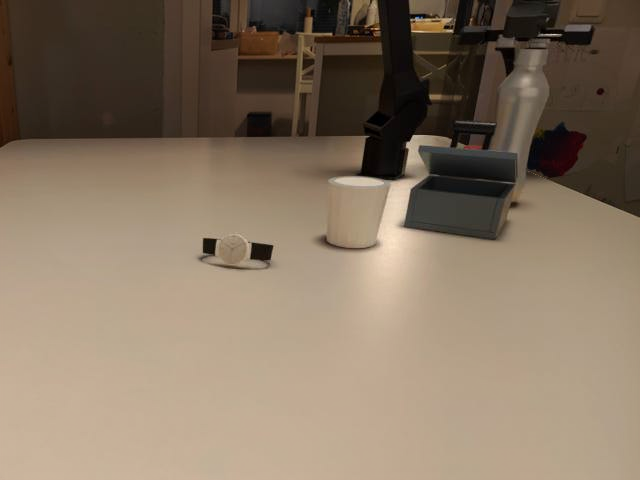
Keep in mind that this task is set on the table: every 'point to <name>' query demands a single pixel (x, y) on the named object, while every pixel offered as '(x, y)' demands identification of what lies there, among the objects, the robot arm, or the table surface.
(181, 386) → the table surface
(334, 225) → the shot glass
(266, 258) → the watch
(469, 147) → the button
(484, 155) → the box lid
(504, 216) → the grey box
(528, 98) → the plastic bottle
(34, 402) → the table surface
